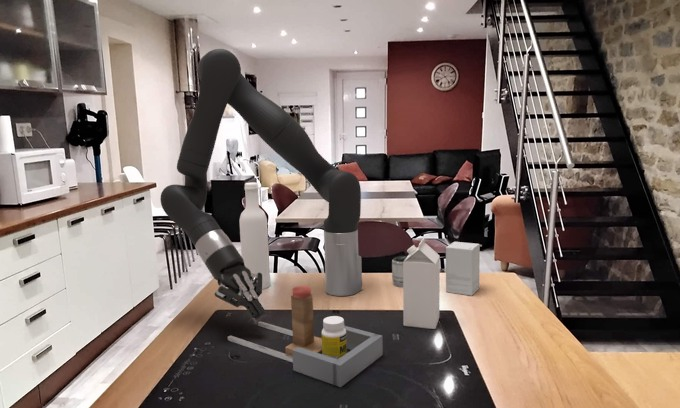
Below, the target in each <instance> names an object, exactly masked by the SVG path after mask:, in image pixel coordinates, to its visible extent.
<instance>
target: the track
mask: <svg viewBox="0 0 680 408" xmlns="http://www.w3.org/2000/svg"><path fill="white" fill-rule="evenodd" d="M257 326H258V327H261V328H264V329H268V330H270V331H274V332H277V333H281V334H284V335H288V336H291V337H293V330H291V329H288V328H284V327H281V326H278V325H274V324H271V323H268V322H264V321H258V322H257ZM227 341H229V342H231V343H234V344H237V345H240V346H243V347H247V348H249V349H251V350H254V351H258V352H260V353H264V354H266V355H269V356H272V357H275V358H278V359H281V360H284V361H286V362H290V363H292V364H293V356H290V355H288V354H286V353H284V352H282V351H278V350H275V349H272V348H269V347H266V346H263V345H260V344H258V343H254V342H251V341H250V340H249V341H247V340H245V339H243V338H239V337H236V336H233V335H229V336H227Z"/></svg>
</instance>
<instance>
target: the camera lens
mask: <svg viewBox="0 0 680 408" xmlns="http://www.w3.org/2000/svg"><path fill="white" fill-rule="evenodd" d="M407 256H408V255H398V256H395V257H393V259H392V260H391V270H392V271H391V276H392V284H393V286H395V287H399V288H403V262H404V260H405V259H406V258H407Z"/></svg>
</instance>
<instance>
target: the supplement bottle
mask: <svg viewBox="0 0 680 408" xmlns="http://www.w3.org/2000/svg"><path fill="white" fill-rule="evenodd" d="M322 325H323V326H322V327H323V328H322V329H321V338H322V355H325V356H329V357H332V358H335V359H339V358H341V357H342V356H344V355H345V354H347V353H348V351H347V350H348V349H346V330H345V328H344V326H345V319H344V318H343V317H341V316H338V315H332V316H331V315H330V316H327V317H324V318H323V320H322Z"/></svg>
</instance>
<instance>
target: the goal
mask: <svg viewBox="0 0 680 408" xmlns="http://www.w3.org/2000/svg"><path fill="white" fill-rule="evenodd" d="M344 328H345V330H346V349H347V350H350V351H347V354H345V355H344V356H342V357H341V358H339V359H335V358H332V357H329V356H325V355H322V354H319V353H316V352H313V351H310V350H307V349H303V348H300V347H297V348H295V349H294V350H292V351H293V363H292V366H293V367H292V371H294V372H296V373H299V374H301V375H305V376H307V377H309V378H313V379H316V380H319V381H321V382H324V383H328V384H331V385H333V386H336V387H339V388H342V387H344V385H346V384H347V383H348V382H349V381H351V380H352V379H354V378H355V377H356V376H357V375H359V374H360V373H362V371H364V370H365V369H366V368H367V367H369V366H371V365H372V364H373V363H374V362H376V361H377V360H378V359H379V358H381V357H382V356H383V354H384V352H383V351H384V350H383V347H384V345H383V335H382V334H377V333H373V332H370V331H366V330H363V329H359V328H354V327H351V326H347V325H344Z"/></svg>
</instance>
